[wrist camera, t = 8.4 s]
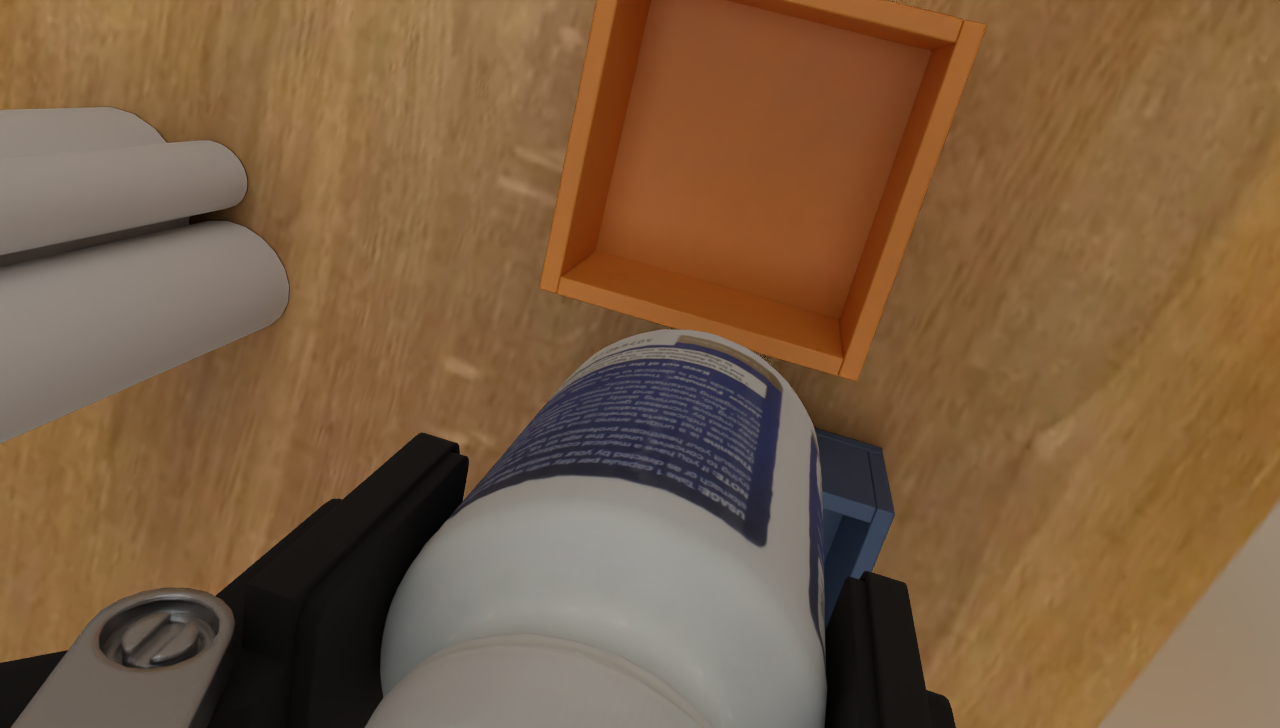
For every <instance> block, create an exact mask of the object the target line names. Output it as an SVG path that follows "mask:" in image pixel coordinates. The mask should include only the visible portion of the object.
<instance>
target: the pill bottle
mask: <svg viewBox="0 0 1280 728" xmlns="http://www.w3.org/2000/svg"><path fill="white" fill-rule="evenodd" d="M823 544H824V541H823V506H822V476H821V464H820V456H819V449H818V443H817V437H816V433H815V430H814V426H813V423H812V421H811V419H810V417H809V415H808V413H807V411H806V409H805V407H804V406H803V404H802V402H801V401H800V399H799V397H798V396H797V395H796V393H795V392H794V390H793V389H792V387H791V386H790V385H789V383H788V382H787V381H786V380H785V379H784V378H783V377H782V376H781V375H780V374H779V373H778V372H777V371H776V370H775V369H774V368H773V367H771V366H770V365H769V364H768V363H767V362H766V361H765V360H764V359H763V358H761V357H760V356H758V355H757V354H755V353H754V352H752V351H751V350H749V349H748V348H746V347H744V346H741V345H739V344H737V343H735V342H732V341H730V340H727V339H725V338H722V337H720V336H717V335H714V334H710V333H706V332H700V331H694V330H668V329H663V330H656V331H651V332H645V333H641V334H637V335H634V336H631V337H627V338H625V339H622V340H620V341H617V342H615V343H613V344H611V345H609V346H607V347H605V348H603V349H602V350H600V351H598V352H597V353H595V354H594V355H593V356H592V357H590V358H589V359H588V360H586V361H585V362H584V363H583V364H582V365H581V366H580V367H579V368H578V369H577V370H576V371H575V372H574V373H573V374H572V375H571V376H570V377H569V378H568V379H567V380H566V381H565V382H564V383H563V384H562V385H561V387H560V388H559V389H558V390H557V391H556V393H555V394H554V395H553V396H552V398H551V399H550V400H549V401H548V403H547V404H546V405H545V406H544V407H543V408H542V409H541V410H540V412H539V413H538V414H537V415H536V416H535V417H534V419H533V420H532V421H531V422H530V424H529V425H528V426H527V427H526V428H525V429H524V430H523V432H522V433H521V434H520V435H519V436H518V437H517V439H516V440H515V441H514V442H513V444H512V445H511V446H510V447H509V448H508V450H507V451H506V452H505V453H504V454H503V456H502V457H501V458H500V459H499V460H498V461H497V463H496V464H495V465H494V466H493V467H492V468H491V469H490V471H489V472H488V473H487V474H486V475H485V476H484V478H483V479H482V480H481V481H480V482H479V483H478V485H477V486H476V487H475V488H474V489H473V491H472V492H471V493H470V494H469V495H468V496H467V497H466V498H465V499H464V500H463V501H462V503H461V504H460V505H459V506H458V507H457V509H456V510H455V511H454V512H453V514H451V516H450V517H449V518H448V519H447V520H446V521H445V523H444V524H443V525H442V526H441V527H440V528H439V529H438V531H437V532H436V533H435V534H434V535H433V536H432V537H431V538H430V539H429V540H428V541H427V542H426V544H425V545H424V547H423V548H422V550H421V552H420V553H419V555H418V556H417V557H416V559H415V560H414V561H413V563H412V564H411V566H410V567H409V569H408V570H407V572H406V574H405V576H404V578H403V579H402V581H401V583H400V585H399V587H398V588H397V591H396V593H395V595H394V597H393V600H392V602H391V605H390V608H389V611H388V614H387V617H386V622H385V627H384V632H383V638H382V645H381V660H380V675H381V686H382V692H383V699H382V701H381V702H380V703H379V705H378V706H377V708H376V709H375V711H374V712H373V714H372V716H371V718H370V719H369V721H368V723H367V725H366V726H365V728H825V714H826V702H827V690H828V686H827V674H826V653H825V595H824V552H823Z"/></svg>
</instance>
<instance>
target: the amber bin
mask: <svg viewBox="0 0 1280 728" xmlns="http://www.w3.org/2000/svg"><path fill="white" fill-rule="evenodd" d="M985 30H986V25H985V24H981V23H977V22H973V21H969V20H964V21H963V20H962V19H961V18H956V17H952V16H948V15H944V14H940V13H936V12H932V11H928V10H923V9H919V8H915V7H911V6H907V5H903V4H899V3H894V2H890V1H886V0H597V1H596V6H595V11H594V16H593V21H592V26H591V31H590V36H589V41H588V46H587V51H586V56H585V61H584V66H583V71H582V76H581V81H580V86H579V91H578V96H577V101H576V106H575V111H574V116H573V121H572V126H571V131H570V136H569V141H568V146H567V151H566V156H565V161H564V166H563V171H562V176H561V181H560V186H559V191H558V196H557V201H556V206H555V211H554V216H553V221H552V226H551V231H550V236H549V241H548V246H547V251H546V256H545V261H544V266H543V271H542V276H541V281H540V289H542V290H545V291H549V292H552V293H557V294H559V295H562V296H565V297H569V298H572V299H575V300H579V301H582V302H586V303H589V304H593V305H596V306H599V307H603V308H606V309H610V310H613V311H616V312H620V313H623V314H627V315H630V316H633V317H637V318H640V319H644V320H647V321H651V322H654V323H657V324H661V325H664V326H668V327H671V328H674V329H678V330H694V331H700V332H706V333H710V334H714V335H717V336H720V337H722V338H725V339H727V340H730V341H732V342H735V343H737V344H739V345H741V346H744V347H746V348H748V349H749V350H751V351H753V352H756V353H760V354H763V355H767V356H770V357H773V358H777V359H780V360H784V361H787V362H791V363H794V364H797V365H801V366H804V367H808V368H811V369H814V370H818V371H821V372H825V373H828V374H831V375H835V376H837V375H839V377H842V378H845V379H849V380H852V381H857V380H858V378H859V376H860V373H861V370H862V367H863V365H864V362H865V359H866V357H867V354H868V351H869V348H870V346H871V343H872V340H873V337H874V335H875V332H876V329H877V326H878V324H879V321H880V318H881V315H882V313H883V310H884V307H885V304H886V302H887V299H888V296H889V293H890V291H891V288H892V285H893V282H894V280H895V277H896V274H897V271H898V269H899V266H900V263H901V261H902V258H903V255H904V252H905V250H906V247H907V244H908V241H909V239H910V236H911V233H912V230H913V228H914V225H915V222H916V219H917V217H918V214H919V211H920V208H921V206H922V203H923V200H924V197H925V195H926V192H927V189H928V186H929V184H930V181H931V178H932V176H933V173H934V170H935V167H936V165H937V162H938V159H939V156H940V154H941V151H942V148H943V145H944V143H945V140H946V137H947V134H948V132H949V129H950V126H951V123H952V121H953V118H954V115H955V112H956V110H957V107H958V104H959V101H960V99H961V96H962V93H963V90H964V88H965V85H966V82H967V80H968V77H969V74H970V71H971V69H972V66H973V63H974V60H975V58H976V55H977V52H978V49H979V47H980V44H981V41H982V38H983V36H984V33H985Z"/></svg>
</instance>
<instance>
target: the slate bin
mask: <svg viewBox="0 0 1280 728" xmlns="http://www.w3.org/2000/svg"><path fill="white" fill-rule="evenodd" d="M814 430H815V433H816V437H817V443H818V449H819V456H820V464H821V476H822V506H823V541H824V544H823V552H824V595H825V630H826V627H827V624H828V622H829V619H830V617H831V614H832V611H833V609H834V606H835V604H836V601H837V598H838V596H839V593H840V591H841V588H842V586H843V583H844V581H845V579H846V578H847V577H848V576H850V577H853V578H856V579H860V577H861V575H862V574H863V572H865V571H868V572H872V569H873V567H874V565H875V562H876V560H877V557H878V555H879V552H880V550H881V547H882V545H883V543H884V540H885V538H886V535H887V533H888V530H889V528H890V526H891V523H892V521H893V518H894V516H895V512H894V507H893V502H892V497H891V492H890V487H889V482H888V477H887V472H886V467H885V462H884V457H883V452H882V448H880V447H877V446H873V445H870V444H867V443H863V442H860V441H857V440H854V439H850V438H847V437H844V436H840V435H837V434H834V433H830V432H827V431H824V430H820V429H817V428H814Z"/></svg>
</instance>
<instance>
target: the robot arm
mask: <svg viewBox="0 0 1280 728" xmlns="http://www.w3.org/2000/svg"><path fill="white" fill-rule="evenodd" d="M459 453H460V450H459V445H458V443H455V442H451V441H448V440H445V439H442V438H439V437H435V436H432V435H429V434H426V433H420V434H418V435H417V436H415V437H414V438H413V439H412V440H411V441H410V442H408V443H407V444H406V445H405V446H404V447H403V448H402V449H400V450H399V451H398V452H397V453H396V454H395V455H393V456H392V457H391V458H390V459H389V460H388V461H387V462H385V463H384V464H383V465H382V466H381V467H380V468H379V469H377V470H376V471H375V472H374V473H373V474H372V475H370V476H369V477H368V478H367V479H366V480H365V481H364V482H362V483H361V484H360V485H359V486H358V487H357V488H355V489H354V490H353V491H352V492H351V493H350V494H349V495H347V496H346V497H345V498H344V499H343V500H341V499H332V500H330V501H328V502H327V503H325V504H324V505H323V506H321V507H320V508H319V509H318V510H317V511H316V512H314V513H313V514H312V515H311V516H310V517H308V518H307V519H306V520H305V521H304V522H303V523H301V524H300V525H299V526H298V527H297V528H295V529H294V530H293V531H292V532H291V533H289V534H288V535H287V536H286V537H285V538H284V539H282V540H281V541H280V542H279V543H278V544H276V545H275V546H274V547H273V548H272V549H271V550H269V551H268V552H267V553H266V554H265V555H263V556H262V557H261V558H260V559H259V560H258V561H256V562H255V563H254V564H253V565H252V566H250V567H249V568H248V569H247V570H246V571H245V572H243V573H242V574H241V575H240V576H239V577H237V578H236V579H235V580H234V581H233V582H231V583H230V584H229V585H228V586H227V587H226V588H224V589H223V590H222V591H221V592H220V593H218V594H217V595H216V596H214V595H212V594H210V593H208V592H205V591H200V590H195V589H190V588H160V589H154V590H148V591H142V592H140V593H137V594H134V595H131V596H128V597H125V598H122V599H120V600H118V601H117V602H115V603H113V604H111V605H110V606H108V607H106V608H105V609H103V610H101V611H100V612H99V613H98V614H97V615H96V616H95V617H94V618H93V619H92V620H91V621H90V622H89V623H88V624H87V626H86V627H85V628H84V630H83V631H82V632H81V634H80V635H79V636H78V638H77V639H76V640H75V642H74V643H73V645H72V646H71V647H70V649H69V650H67V651H62V652H57V653H51V654H46V655H41V656H35V657H30V658H25V659H19V660H14V661H8V662H3V663H0V728H365V726H366V725H367V723H368V721H369V719H370V718H371V716H372V714H373V712H374V711H375V709H376V708H377V706H378V705H379V703H380V702H381V701H382V699H383V692H382V686H381V675H380V660H381V645H382V638H383V632H384V627H385V622H386V617H387V614H388V611H389V608H390V605H391V602H392V600H393V597H394V595H395V593H396V591H397V588H398V587H399V585H400V583H401V581H402V579H403V578H404V576H405V574H406V572H407V570H408V569H409V567H410V566H411V564H412V563H413V561H414V560H415V559H416V557H417V556H418V555H419V553H420V552H421V550H422V548H423V547H424V545H425V544H426V542H427V541H428V540H429V539H430V538H431V537H432V536H433V535H434V534H435V533H436V532H437V531H438V529H439V528H440V527H441V526H442V525H443V524H444V523H445V521H446V520H447V519H448V518H449V517H450V516H451V514H453V512H454V511H455V510H456V509H457V507H458V506H459V505H460V504H461V503H462V501H463V496H464V490H465V484H466V478H467V472H468V466H469V459H468V457H467V456H463V455H460V454H459ZM825 653H826V674H827V686H828V690H827V702H826V714H825V728H956V726H955V722H954V717H953V713H952V708H951V706H950V703H949V700H948V699H947V698H946V697H945V696H943V695H940V694H937V693H934V692H931V691H928V690H926V687H925V682H924V676H923V671H922V665H921V660H920V654H919V649H918V643H917V638H916V632H915V627H914V621H913V616H912V611H911V605H910V600H909V594H908V589H907V586H906V584H905V583H904V582H900V581H897V580H894V579H891V578H888V577H884V576H881V575H878V574H875V573H872V572H868V571H865V572H863V574H862V575H861V577H860V579H856V578H853V577H850V576H848V577H847V578H846V579H845V581H844V583H843V586H842V588H841V591H840V593H839V596H838V598H837V601H836V604H835V606H834V609H833V611H832V614H831V617H830V619H829V622H828V624H827V627H826V630H825Z"/></svg>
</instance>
